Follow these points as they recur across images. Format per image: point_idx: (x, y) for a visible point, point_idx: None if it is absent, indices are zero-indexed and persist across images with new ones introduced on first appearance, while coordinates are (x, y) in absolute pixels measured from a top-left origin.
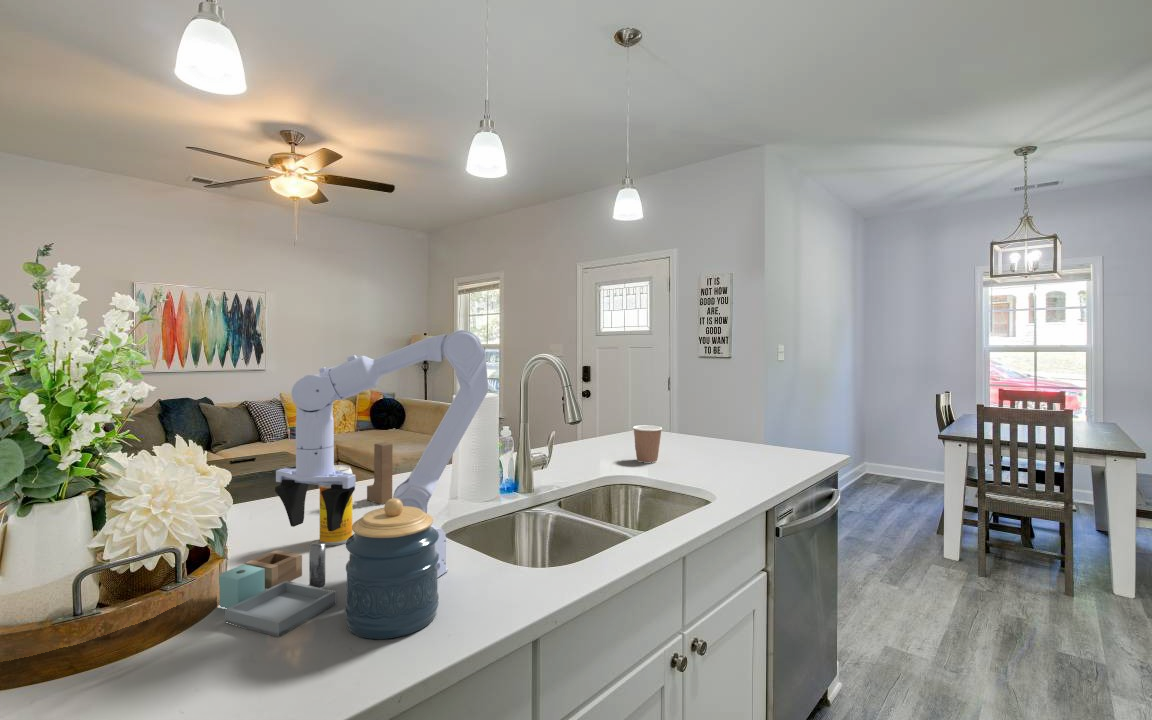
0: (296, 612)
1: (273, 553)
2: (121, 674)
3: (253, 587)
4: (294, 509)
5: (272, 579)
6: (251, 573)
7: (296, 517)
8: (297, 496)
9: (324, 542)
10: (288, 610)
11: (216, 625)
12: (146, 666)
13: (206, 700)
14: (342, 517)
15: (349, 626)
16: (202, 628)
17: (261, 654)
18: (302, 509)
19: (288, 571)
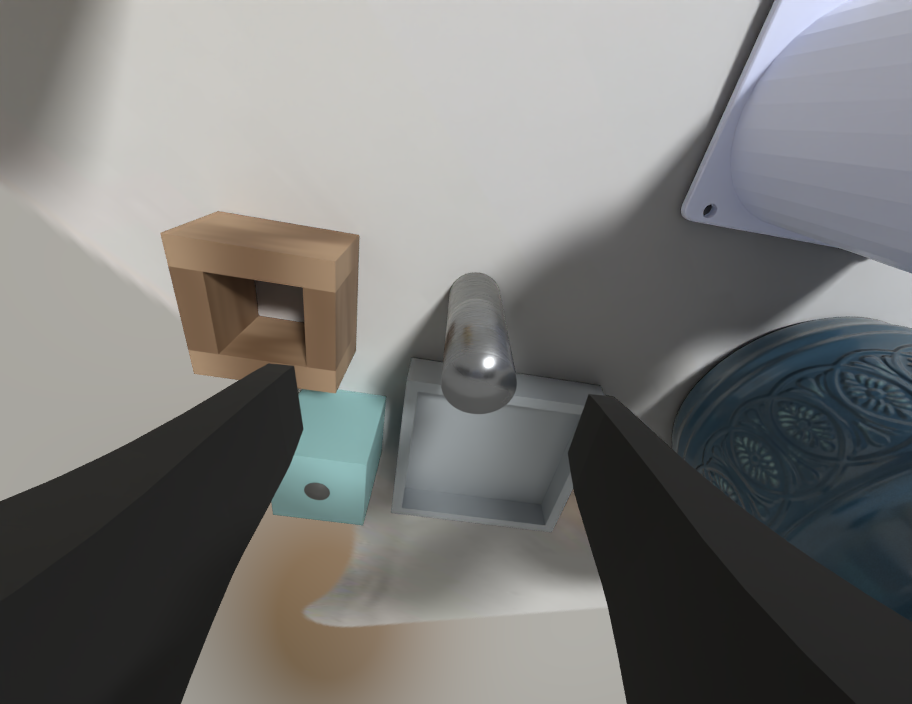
0: (565, 502)
1: (195, 273)
2: (380, 586)
3: (374, 457)
4: (242, 517)
5: (346, 365)
6: (359, 493)
7: (276, 451)
8: (153, 611)
9: (503, 364)
10: (504, 446)
11: (385, 492)
12: (394, 574)
13: (545, 602)
14: (656, 436)
15: None
16: (369, 502)
17: (549, 539)
18: (236, 432)
19: (348, 310)
